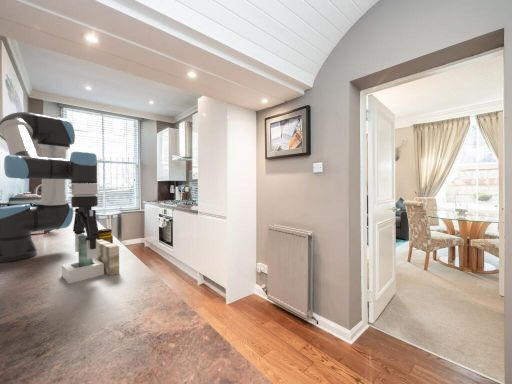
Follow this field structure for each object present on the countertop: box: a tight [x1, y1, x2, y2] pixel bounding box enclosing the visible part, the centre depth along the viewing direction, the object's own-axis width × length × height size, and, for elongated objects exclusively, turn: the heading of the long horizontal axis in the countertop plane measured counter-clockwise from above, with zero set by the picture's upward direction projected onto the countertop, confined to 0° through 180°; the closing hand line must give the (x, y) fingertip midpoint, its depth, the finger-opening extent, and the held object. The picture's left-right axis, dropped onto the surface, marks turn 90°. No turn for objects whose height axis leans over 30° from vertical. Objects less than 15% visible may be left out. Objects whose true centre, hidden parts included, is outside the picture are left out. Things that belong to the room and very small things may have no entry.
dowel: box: [78, 234, 93, 267], centre depth 82 cm, size 4×4×14 cm
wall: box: [96, 239, 120, 277], centre depth 88 cm, size 17×3×10 cm, turn 51°
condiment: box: [97, 228, 114, 244], centre depth 105 cm, size 7×8×12 cm
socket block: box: [61, 258, 105, 284], centre depth 82 cm, size 10×10×4 cm
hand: (85, 254), depth 82 cm, fingers open, 13 cm apart
